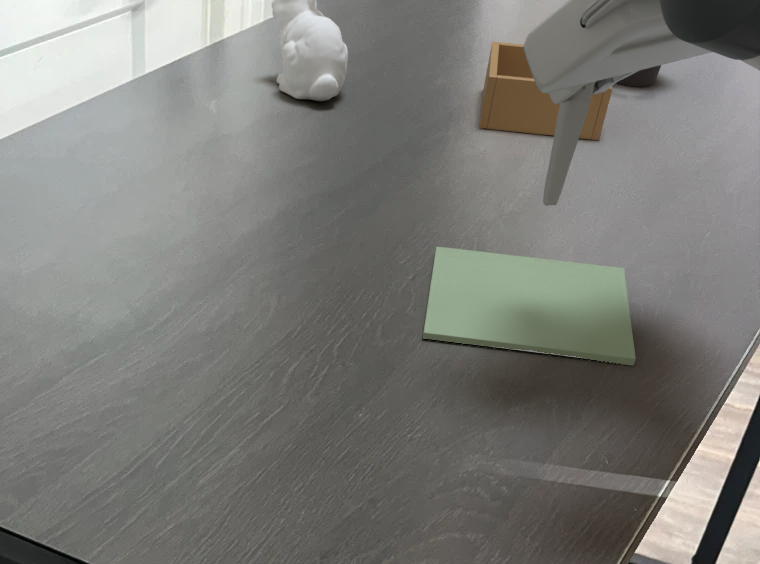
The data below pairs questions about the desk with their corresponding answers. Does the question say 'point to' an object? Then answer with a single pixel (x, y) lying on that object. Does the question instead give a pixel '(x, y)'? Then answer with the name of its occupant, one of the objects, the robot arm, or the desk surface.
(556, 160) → the pen
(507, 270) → the mat
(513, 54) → the storage box
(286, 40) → the rabbit
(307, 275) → the desk surface
